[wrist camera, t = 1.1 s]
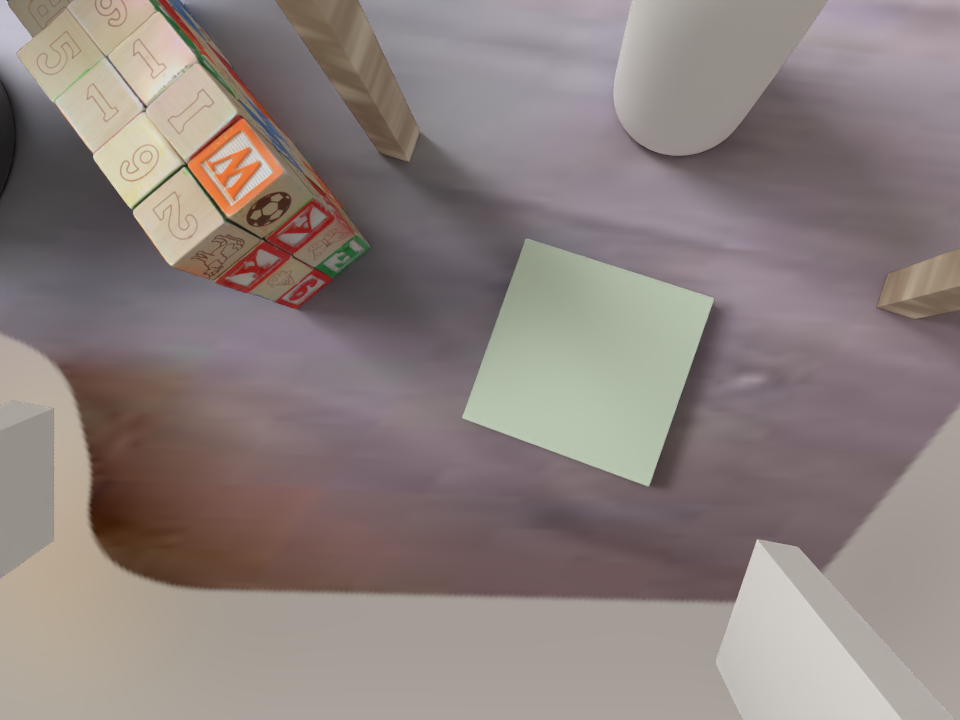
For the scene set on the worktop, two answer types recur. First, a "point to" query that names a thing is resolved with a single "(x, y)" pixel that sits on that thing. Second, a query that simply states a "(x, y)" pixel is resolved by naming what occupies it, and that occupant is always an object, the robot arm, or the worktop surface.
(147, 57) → the stack of blocks
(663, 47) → the milk bottle
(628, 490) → the worktop surface
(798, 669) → the robot arm
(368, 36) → the door frame
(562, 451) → the sage mat
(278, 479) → the worktop surface
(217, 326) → the worktop surface
